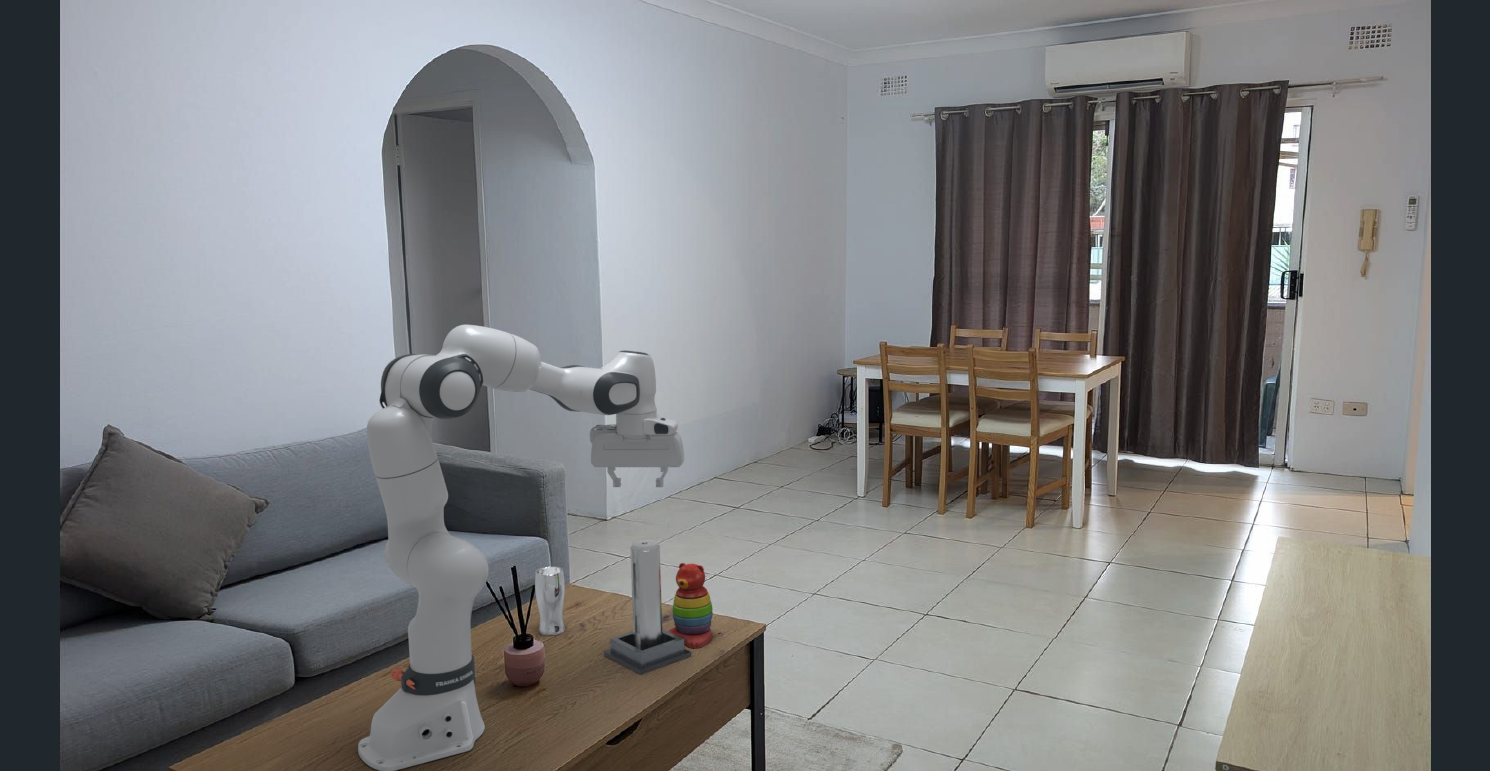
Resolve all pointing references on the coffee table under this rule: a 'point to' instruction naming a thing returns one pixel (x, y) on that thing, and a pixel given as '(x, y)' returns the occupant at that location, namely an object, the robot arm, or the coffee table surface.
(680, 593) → the stacking bear
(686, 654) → the collar
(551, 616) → the beer glass
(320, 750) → the coffee table surface
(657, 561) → the grey cylinder
